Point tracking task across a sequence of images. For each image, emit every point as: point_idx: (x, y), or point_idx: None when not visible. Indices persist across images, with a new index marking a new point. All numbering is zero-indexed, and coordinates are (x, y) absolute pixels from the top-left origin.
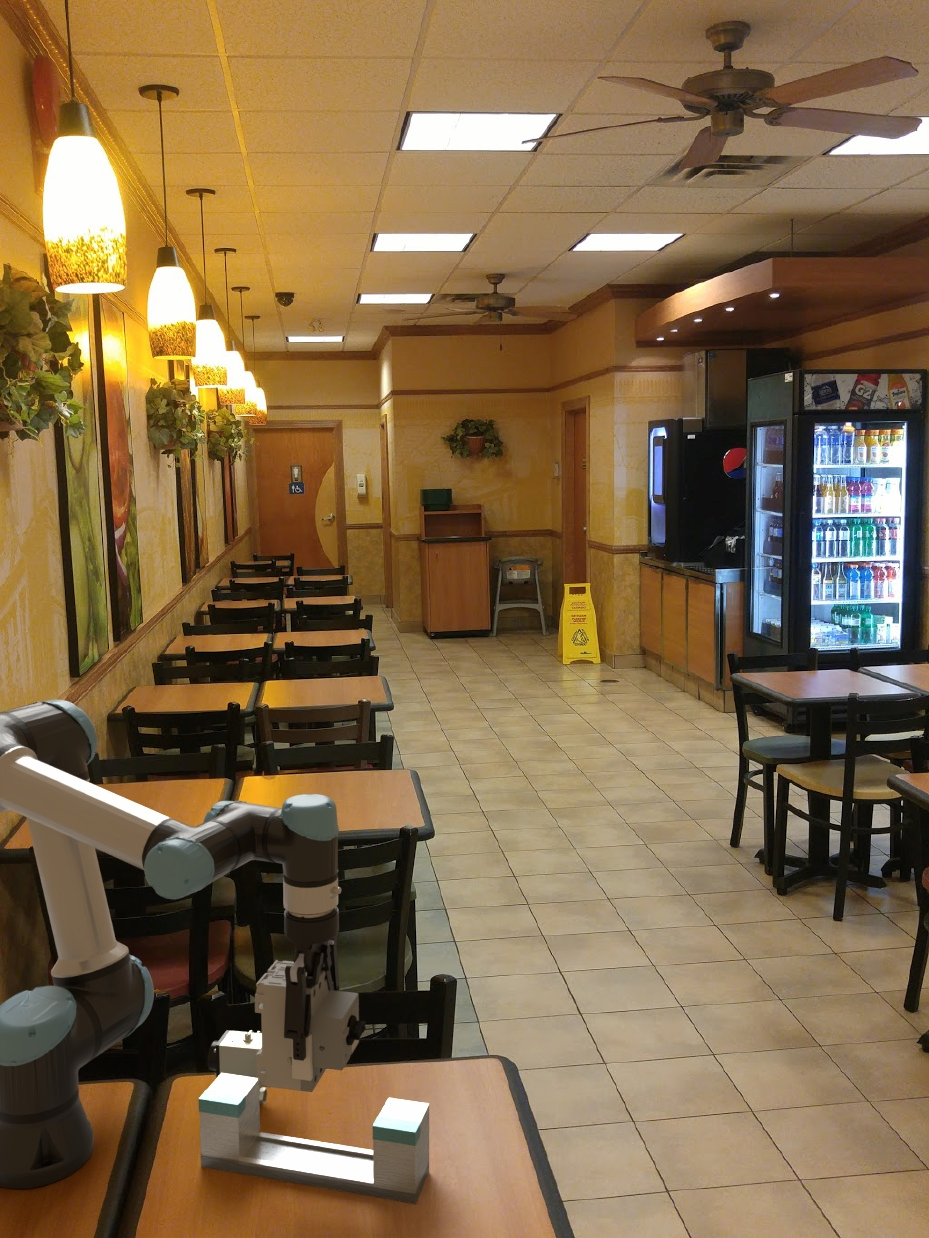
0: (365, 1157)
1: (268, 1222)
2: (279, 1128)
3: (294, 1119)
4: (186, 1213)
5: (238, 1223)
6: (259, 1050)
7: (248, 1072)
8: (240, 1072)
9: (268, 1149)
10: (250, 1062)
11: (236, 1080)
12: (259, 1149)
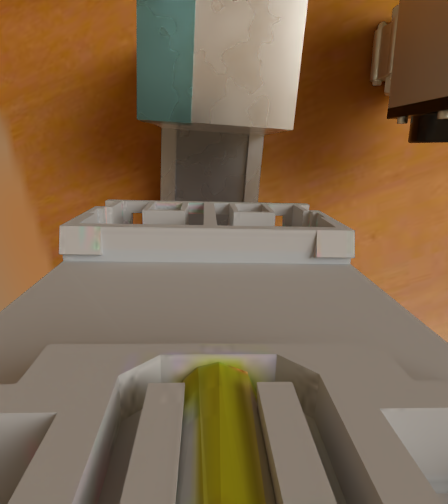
0: None
1: (55, 231)
2: (315, 155)
3: (347, 175)
4: (28, 68)
5: (35, 181)
6: (106, 228)
7: (413, 45)
8: (415, 18)
9: (219, 170)
10: (431, 44)
11: (271, 56)
12: (216, 152)
